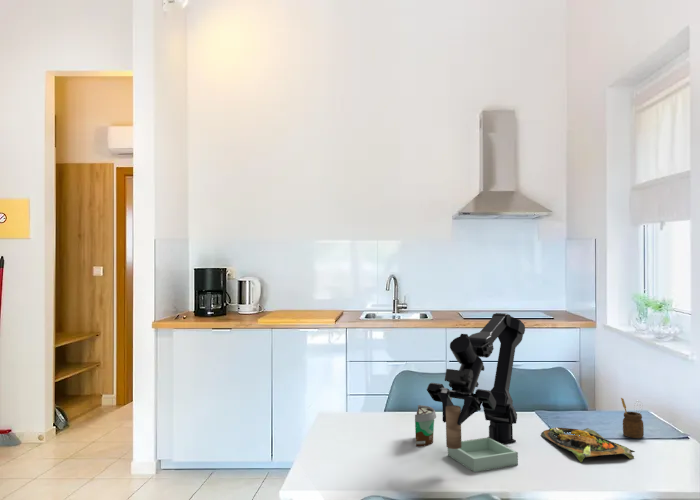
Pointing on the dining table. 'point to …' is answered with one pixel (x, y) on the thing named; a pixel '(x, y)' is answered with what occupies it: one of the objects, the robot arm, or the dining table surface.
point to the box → (484, 454)
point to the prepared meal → (585, 443)
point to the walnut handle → (453, 427)
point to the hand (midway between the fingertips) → (451, 423)
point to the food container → (424, 425)
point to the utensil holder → (632, 423)
